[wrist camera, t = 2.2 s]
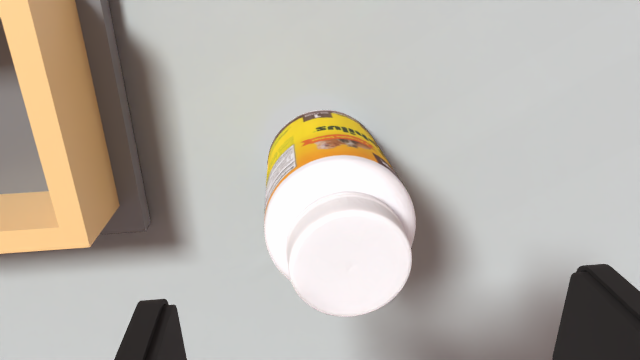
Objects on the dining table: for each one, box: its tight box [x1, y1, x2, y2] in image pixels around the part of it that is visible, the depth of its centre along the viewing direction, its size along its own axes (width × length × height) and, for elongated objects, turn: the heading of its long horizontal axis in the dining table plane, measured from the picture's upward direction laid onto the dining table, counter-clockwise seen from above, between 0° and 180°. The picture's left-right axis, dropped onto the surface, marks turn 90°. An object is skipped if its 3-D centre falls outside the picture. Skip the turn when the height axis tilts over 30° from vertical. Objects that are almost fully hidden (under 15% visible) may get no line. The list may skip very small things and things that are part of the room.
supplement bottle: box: [264, 110, 416, 317], centre depth 19 cm, size 6×6×10 cm
